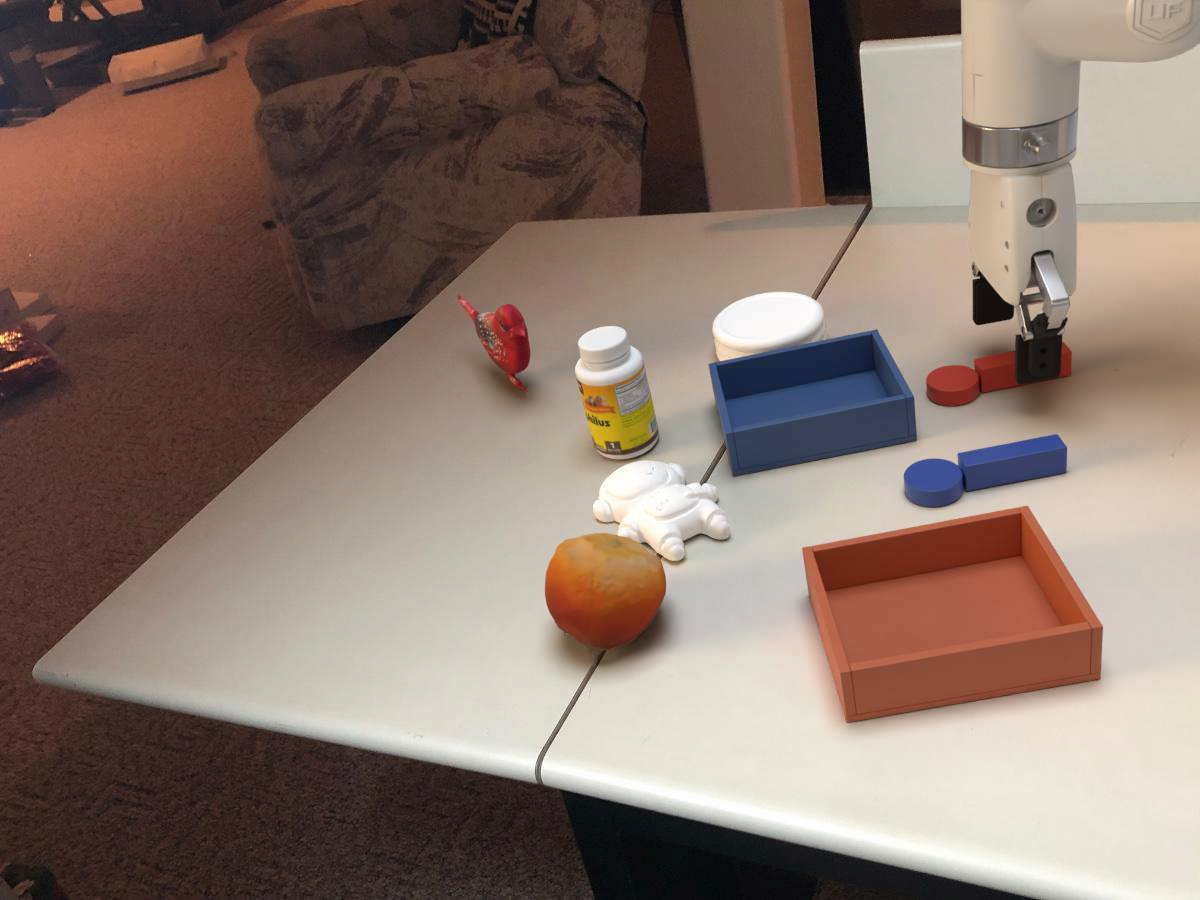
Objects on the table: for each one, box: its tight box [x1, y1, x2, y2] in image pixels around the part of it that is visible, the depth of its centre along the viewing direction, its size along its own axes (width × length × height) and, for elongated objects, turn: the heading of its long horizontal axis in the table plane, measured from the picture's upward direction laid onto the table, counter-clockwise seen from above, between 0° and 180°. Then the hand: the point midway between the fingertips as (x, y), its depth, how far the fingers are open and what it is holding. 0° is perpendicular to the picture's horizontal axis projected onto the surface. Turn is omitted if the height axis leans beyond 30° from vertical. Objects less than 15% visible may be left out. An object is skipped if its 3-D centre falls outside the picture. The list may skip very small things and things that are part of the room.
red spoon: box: [925, 340, 1073, 407], centre depth 86 cm, size 11×4×2 cm, turn 92°
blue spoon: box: [903, 433, 1068, 508], centre depth 76 cm, size 11×4×2 cm, turn 92°
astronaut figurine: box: [592, 459, 731, 562], centre depth 81 cm, size 9×12×3 cm
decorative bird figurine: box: [456, 294, 531, 393], centre depth 103 cm, size 3×18×10 cm, turn 29°
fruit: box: [544, 532, 667, 669], centre depth 71 cm, size 8×8×8 cm
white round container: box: [711, 291, 828, 361], centre depth 98 cm, size 10×10×4 cm
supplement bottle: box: [574, 325, 660, 460], centre depth 88 cm, size 6×6×10 cm
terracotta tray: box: [801, 505, 1104, 723], centre depth 65 cm, size 14×11×4 cm
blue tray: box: [708, 328, 918, 477], centre depth 87 cm, size 14×11×4 cm
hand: (1014, 348), depth 85 cm, fingers open, 9 cm apart
